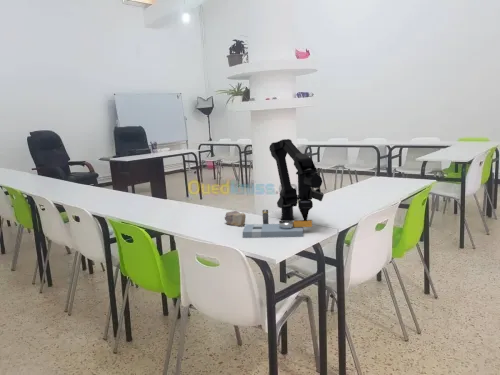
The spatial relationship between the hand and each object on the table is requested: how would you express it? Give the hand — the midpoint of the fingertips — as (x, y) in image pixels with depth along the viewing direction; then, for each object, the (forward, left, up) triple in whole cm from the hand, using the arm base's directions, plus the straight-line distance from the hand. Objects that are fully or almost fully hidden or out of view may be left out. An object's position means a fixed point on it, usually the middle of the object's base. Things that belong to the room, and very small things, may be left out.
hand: (305, 218), depth 180 cm
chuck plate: (+9, -14, -4) cm, 17 cm away
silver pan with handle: (+9, -5, -1) cm, 10 cm away
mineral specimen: (-7, -33, -4) cm, 34 cm away
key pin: (-1, -18, -4) cm, 19 cm away
